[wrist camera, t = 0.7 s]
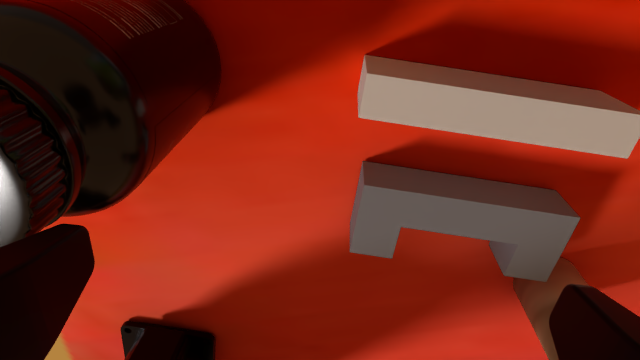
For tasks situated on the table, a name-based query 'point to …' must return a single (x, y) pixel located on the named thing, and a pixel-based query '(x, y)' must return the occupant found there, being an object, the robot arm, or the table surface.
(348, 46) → the table surface
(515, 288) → the dowel
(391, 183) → the block
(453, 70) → the wall
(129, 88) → the supplement bottle
